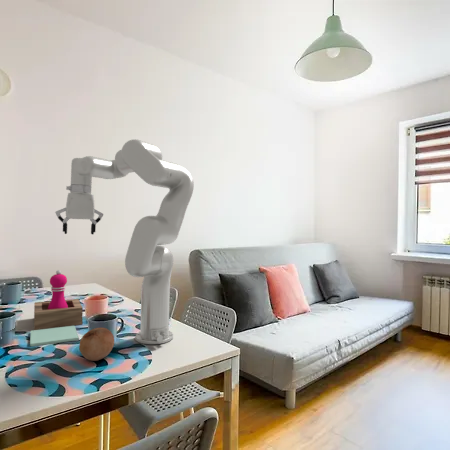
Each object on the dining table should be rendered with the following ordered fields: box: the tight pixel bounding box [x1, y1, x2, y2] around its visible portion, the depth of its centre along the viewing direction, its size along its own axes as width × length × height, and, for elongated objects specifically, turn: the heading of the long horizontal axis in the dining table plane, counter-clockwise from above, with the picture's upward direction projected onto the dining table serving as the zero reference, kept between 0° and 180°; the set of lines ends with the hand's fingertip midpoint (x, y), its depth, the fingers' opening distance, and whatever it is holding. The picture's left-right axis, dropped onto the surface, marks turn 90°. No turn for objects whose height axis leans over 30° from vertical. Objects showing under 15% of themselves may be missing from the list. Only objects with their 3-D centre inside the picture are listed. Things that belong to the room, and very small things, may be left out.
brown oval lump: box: [78, 326, 115, 362], centre depth 98 cm, size 10×9×10 cm
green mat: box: [29, 325, 80, 348], centre depth 115 cm, size 14×14×1 cm
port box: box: [33, 298, 84, 330], centre depth 131 cm, size 16×16×6 cm
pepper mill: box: [48, 269, 68, 310], centre depth 131 cm, size 7×7×20 cm
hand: (79, 233), depth 133 cm, fingers open, 9 cm apart
